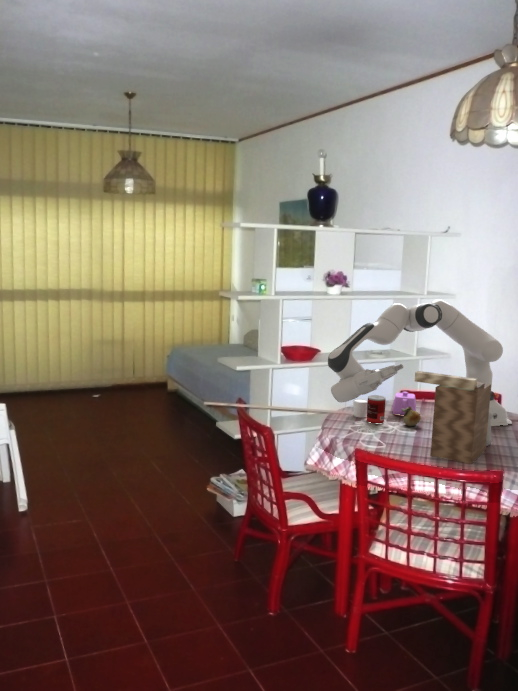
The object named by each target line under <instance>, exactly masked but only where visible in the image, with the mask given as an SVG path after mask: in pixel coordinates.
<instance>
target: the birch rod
mask: <svg viewBox="0 0 518 691" xmlns="http://www.w3.org/2000/svg"><path fill="white" fill-rule="evenodd" d="M414 382H415V383H423V384H424V383H425V384H430V385H436V386H439V385H443V386H450V387H456V388H463V389H470V390H475V387H476V386H477V379H474V378H467V377H466V376H460V375H459V376H458V375H452V374H443V373H436V372H429V371H422V370H417V371H415V372H414Z"/></svg>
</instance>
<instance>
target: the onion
mask: <svg viewBox="0 0 518 691" xmlns="http://www.w3.org/2000/svg"><path fill="white" fill-rule="evenodd" d="M401 410H402V411H403V412H406V413H405V414H404V416H402V420H403V423H404V424H405V426H408V427H415V426H417V425H418V423H420V421H421V419H422V417H421V414H420V413H419V412H417V410H416V411H414V410H412V409H411V407H407V408H406V409H403V408H402V409H401Z"/></svg>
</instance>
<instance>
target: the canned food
mask: <svg viewBox="0 0 518 691" xmlns="http://www.w3.org/2000/svg"><path fill="white" fill-rule="evenodd" d="M386 400H387V399H386V397H385V396H383V395H376V394H373V395H369V396H367V401H368V402H367V415H366V422H367V421H368V422H371V423H382V424H384V423H383V422H385V415H386ZM368 422H367V423H368ZM371 423H370V424H371Z"/></svg>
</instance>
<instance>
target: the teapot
mask: <svg viewBox="0 0 518 691" xmlns="http://www.w3.org/2000/svg"><path fill="white" fill-rule="evenodd" d="M393 398H394V399H393V403H392V408H391V409H392V414H400V415H404V414H405V413H406V412H403V411H402V410H401V409H402V408H403V409H406V408H407V407H411V409H412V410H414V411H416V412H417V401H416V399H417V398H416V395H415V394H414V393H409V392H408V391H402V392H396V393H395V395H394V397H393Z"/></svg>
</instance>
